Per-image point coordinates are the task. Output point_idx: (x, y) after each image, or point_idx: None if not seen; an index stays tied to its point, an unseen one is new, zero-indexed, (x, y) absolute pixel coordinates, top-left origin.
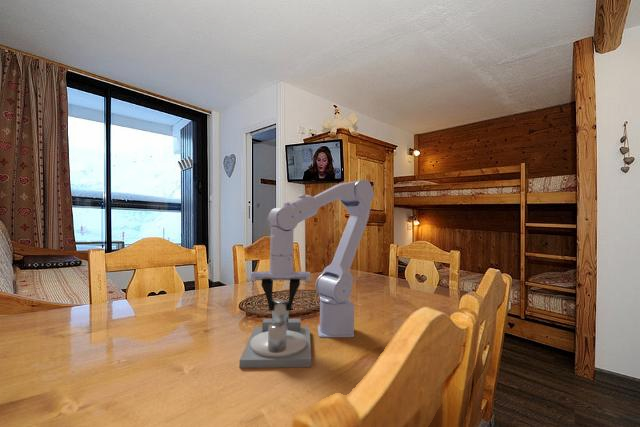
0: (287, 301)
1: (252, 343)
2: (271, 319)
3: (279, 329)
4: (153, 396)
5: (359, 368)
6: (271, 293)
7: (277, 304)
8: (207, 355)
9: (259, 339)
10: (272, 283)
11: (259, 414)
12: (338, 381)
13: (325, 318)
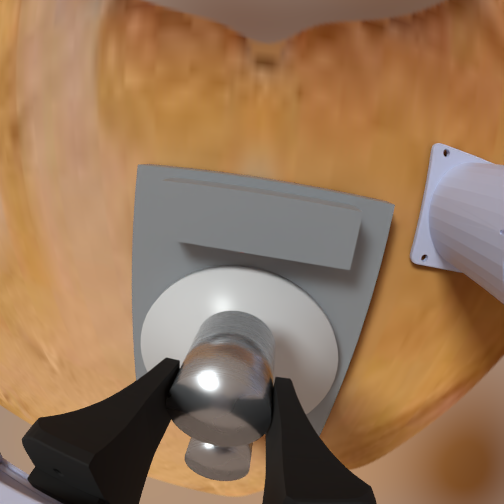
0: (263, 418)
1: (150, 367)
2: (199, 199)
3: (223, 480)
4: (54, 412)
5: (416, 428)
6: (145, 472)
7: (200, 438)
8: (57, 310)
9: (167, 345)
10: (115, 477)
11: (208, 487)
12: (352, 459)
13: (467, 270)
